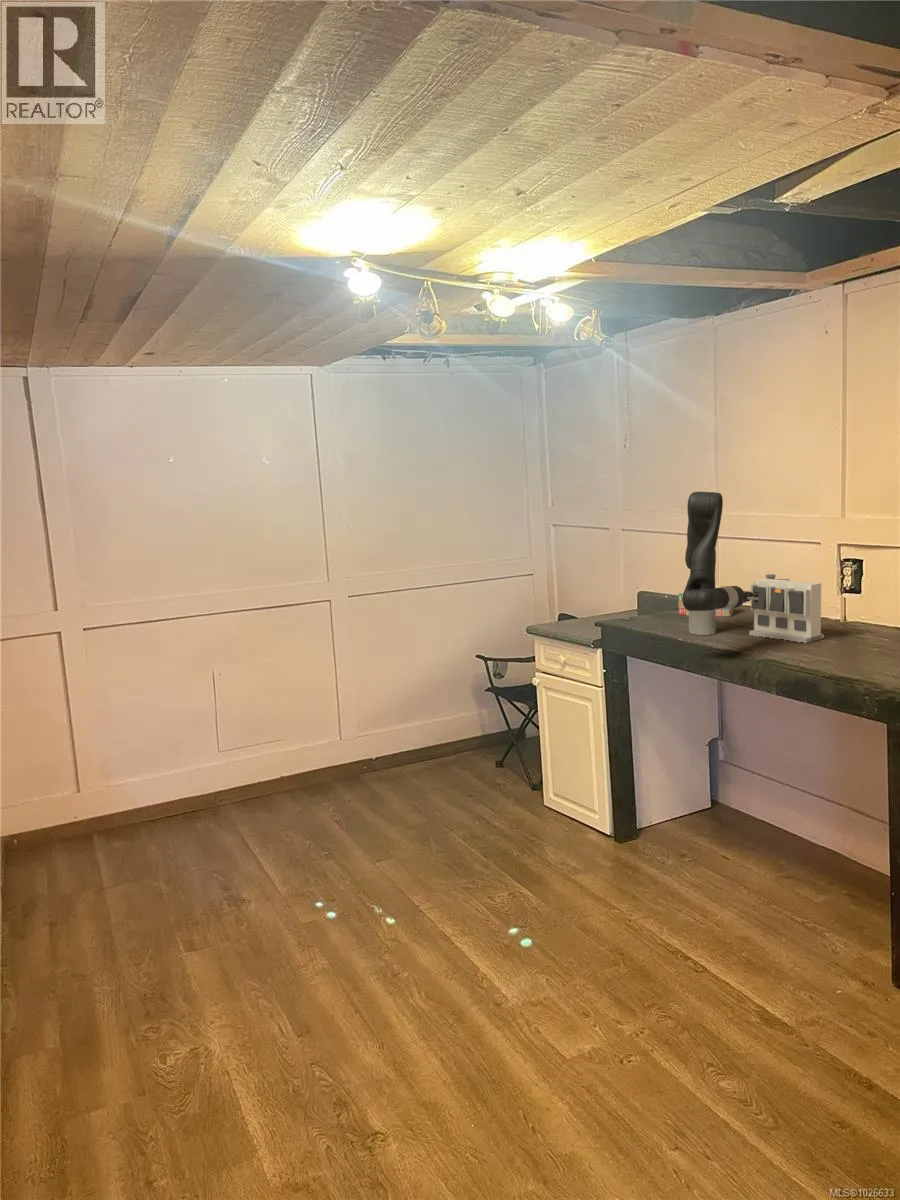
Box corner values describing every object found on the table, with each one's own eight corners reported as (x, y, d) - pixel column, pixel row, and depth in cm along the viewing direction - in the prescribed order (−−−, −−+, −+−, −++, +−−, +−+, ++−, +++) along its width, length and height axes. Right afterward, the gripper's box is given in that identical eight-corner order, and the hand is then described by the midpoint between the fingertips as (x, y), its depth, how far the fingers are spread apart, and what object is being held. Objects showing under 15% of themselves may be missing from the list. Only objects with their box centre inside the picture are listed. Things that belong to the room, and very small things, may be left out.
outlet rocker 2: (793, 611, 317) (790, 590, 315) (806, 612, 313) (803, 591, 311) (790, 612, 316) (787, 591, 314) (803, 614, 312) (800, 592, 310)
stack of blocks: (678, 615, 379) (677, 586, 377) (682, 612, 385) (681, 584, 383) (730, 617, 369) (729, 587, 367) (733, 614, 374) (733, 585, 372)
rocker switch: (753, 608, 328) (757, 587, 328) (765, 610, 324) (768, 588, 324) (751, 608, 327) (754, 586, 327) (763, 609, 323) (766, 587, 323)
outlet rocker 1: (771, 610, 322) (775, 588, 322) (783, 612, 318) (787, 589, 318) (768, 610, 321) (772, 588, 321) (780, 611, 317) (784, 589, 317)
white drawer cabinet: (767, 630, 337) (767, 577, 334) (823, 638, 318) (824, 582, 315) (749, 635, 330) (749, 581, 327) (805, 643, 312) (806, 586, 309)
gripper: (746, 589, 297) (774, 586, 308) (712, 584, 307) (740, 581, 318) (744, 611, 298) (772, 608, 309) (710, 605, 308) (738, 602, 319)
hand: (756, 594), depth 313 cm, fingers closed
